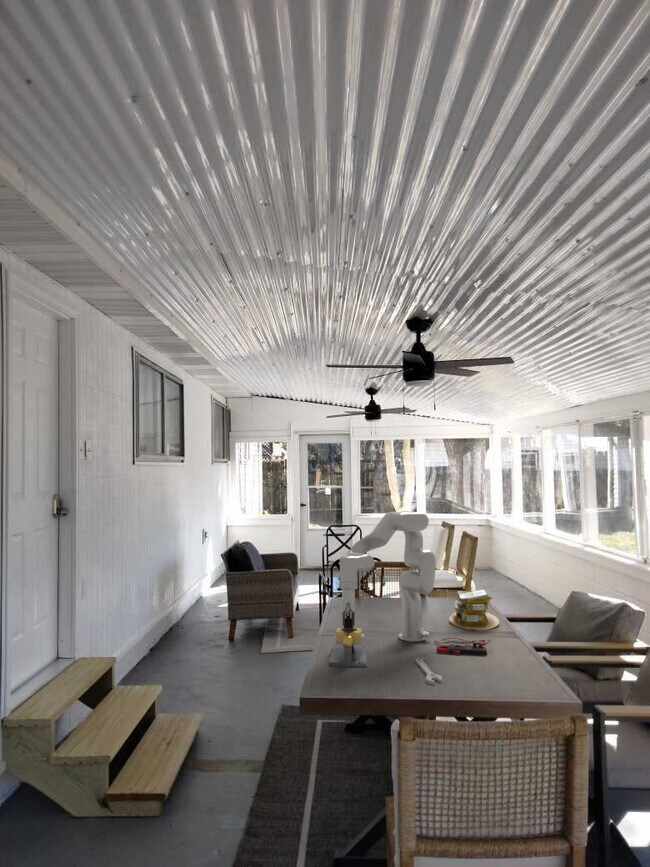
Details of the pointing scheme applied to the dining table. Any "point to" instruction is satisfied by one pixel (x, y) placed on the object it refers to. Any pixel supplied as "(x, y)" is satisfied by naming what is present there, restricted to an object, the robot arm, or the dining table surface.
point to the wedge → (352, 622)
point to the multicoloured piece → (349, 649)
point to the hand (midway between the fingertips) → (349, 624)
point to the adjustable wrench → (428, 672)
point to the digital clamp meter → (463, 648)
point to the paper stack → (473, 611)
